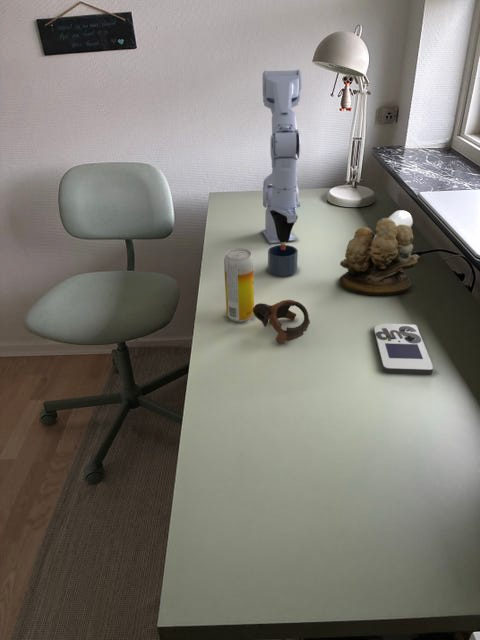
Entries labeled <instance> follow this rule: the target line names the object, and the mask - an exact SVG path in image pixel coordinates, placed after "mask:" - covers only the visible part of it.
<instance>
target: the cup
mask: <svg viewBox="0 0 480 640" xmlns="http://www.w3.org/2000/svg"><path fill="white" fill-rule="evenodd" d="M298 253H299V250H298V249H297V247H295V246H293V245H288V244H286V245H285V250H281V244H278V245H273V246H271V247H269V248H268V250H267V272H268V273H269V274H270V275H272V276H273V277H278V278H286V277H291V276H294V275H295V274H296V273H297V271H298V256H299V255H298Z"/></svg>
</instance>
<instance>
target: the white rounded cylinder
mask: <svg viewBox="0 0 480 640" xmlns="http://www.w3.org/2000/svg"><path fill="white" fill-rule="evenodd" d="M388 218H389V219H391V220H393V221H394V222H395V224H396V226H398V225H407V226H410V227H411V228H412V226H413V224H414V220H413V217H412V215H411V213H409V212H408V211H406V210H402V209H399V210H396V211H394V212H393V213H392V214H391V215H389V216H388ZM374 236H376V234H374Z"/></svg>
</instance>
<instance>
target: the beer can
mask: <svg viewBox="0 0 480 640" xmlns="http://www.w3.org/2000/svg"><path fill="white" fill-rule="evenodd" d="M223 267H224V268H223V269H224V288H225V289H224V291H225V292H224V293H225V307H226V308H225V309H226V316H227V317H229V319H230V321H233V322H236V323H243V322H247V321H249V320H251V319H252V318H253V316H254V313H253V308H254V307H255V285H254V284H255V281H254V279H255V278H254V273H255V272H254V256H253V254H252V252H251V251H250V250H248V249H246V248H233V249H229V250H227V251H226V252H225V256H224V258H223Z"/></svg>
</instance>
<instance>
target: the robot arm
mask: <svg viewBox="0 0 480 640" xmlns="http://www.w3.org/2000/svg"><path fill="white" fill-rule="evenodd" d="M302 86H303V74H302V71H301V70H300V69H296V70H268V71H267V70H264V71H263V72H262V102H263V106H264V107H266V108H267V109H269V110H270V112H271V135H270V139H269V140H270V142H269V143H270V144H269V145H270V146H269V149H270V150H269V151H270V160H271V168H272V169H271V173H270V174H269V175H267V176H266V177H265V178H264V179H263V181H262V185H263V186H262V206H263V207H264V208H265V224H264V225H265V228H264V229H262V231H261V232H262V234H263V235H264V237H265V238H266V240H267V242H268V243H269V244H276V243H277V244H278V243H281V242H286V243H288V242H295V241H297V238H296V236H295V235H294V234H293V227H294V225H295V223H297V222H298V221H297V220H298V217H299V216H298V214H297V209H298V208H300V207H302V205H301V202H299V185H298V184H299V183H298V159H299V158H300V155H301V135H300V132H299V129H298V125H297V115H296V112H295V111H293V108H295V107H297V106H298V105H299V102H300V99H301V95H302ZM299 160H300V159H299Z"/></svg>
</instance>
